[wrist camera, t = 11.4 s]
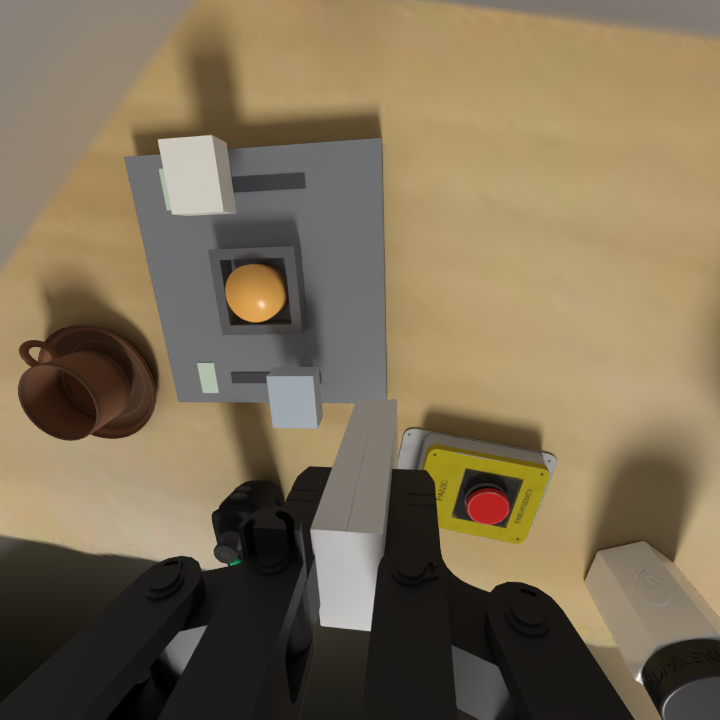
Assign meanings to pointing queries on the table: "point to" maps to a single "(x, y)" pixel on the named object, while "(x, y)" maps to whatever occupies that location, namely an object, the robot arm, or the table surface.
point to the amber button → (257, 291)
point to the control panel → (286, 252)
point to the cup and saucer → (86, 385)
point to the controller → (240, 516)
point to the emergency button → (480, 482)
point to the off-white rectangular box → (197, 175)
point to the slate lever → (295, 397)
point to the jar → (660, 629)
